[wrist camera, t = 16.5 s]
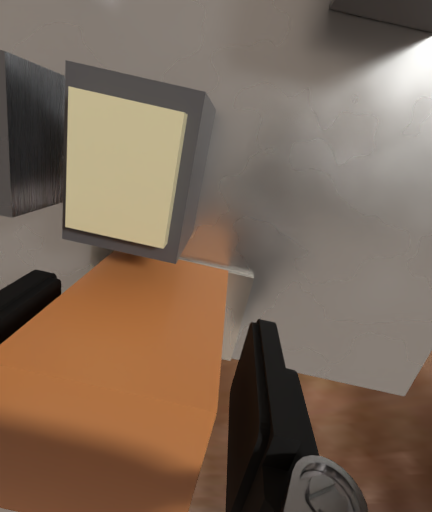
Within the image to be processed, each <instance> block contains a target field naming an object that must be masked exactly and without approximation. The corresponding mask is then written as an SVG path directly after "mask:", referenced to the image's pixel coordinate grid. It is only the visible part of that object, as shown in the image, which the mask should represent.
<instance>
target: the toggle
mask: <svg viewBox="0 0 432 512" xmlns="http://www.w3.org/2000/svg"><path fill="white" fill-rule="evenodd" d="M329 9H332V10H336V11H341V12H345V13H349V14H354V15H358V16H363V17H367V18H371V19H376V20H380V21H384V22H389V23H393V24H398V25H402V26H406V27H411V28H415V29H419V30H424V31H428V32H432V0H331V4H330V8H329Z"/></svg>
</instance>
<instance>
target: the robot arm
mask: <svg viewBox="0 0 432 512" xmlns="http://www.w3.org/2000/svg"><path fill="white" fill-rule="evenodd" d="M60 295H61V280H60V279H57V276H56V274H54V273H50V272H46V271H41V270H33V271H31V272H29V273H28V274H26V275H24V276H23V277H21V278H19V279H18V280H16V281H14V282H13V283H11V284H9V285H8V286H6V287H4V288H3V289H1V290H0V344H2V343H3V342H4V341H5V340H6V339H8V338H9V337H10V336H11V335H13V334H14V333H15V332H16V331H17V330H19V329H20V328H21V327H22V326H23V325H25V324H26V323H27V322H28V321H30V320H31V319H32V318H33V317H34V316H36V315H37V314H38V313H39V312H40V311H42V310H43V309H44V308H45V307H46V306H48V305H49V304H50V303H51V302H53V301H54V300H55V299H56V298H57V297H59V296H60ZM226 512H368V508H367V503H366V501H365V499H364V496H363V494H362V492H361V490H360V488H359V487H358V485H357V484H356V482H355V481H354V480H353V478H352V477H351V476H350V475H349V474H348V473H347V472H346V471H345V470H344V469H343V468H342V467H340V466H339V465H337V464H336V463H335V462H333V461H332V460H329V459H327V458H324V457H322V456H319V453H318V450H317V446H316V442H315V438H314V434H313V431H312V427H311V423H310V419H309V415H308V411H307V408H306V404H305V400H304V396H303V392H302V389H301V385H300V381H299V377H298V374H297V372H296V371H295V370H292V369H288V368H286V366H285V361H284V357H283V352H282V348H281V343H280V338H279V334H278V329H277V325H276V323H275V322H271V321H266V320H262V319H258V320H257V322H256V323H254V322H251V323H250V325H249V328H248V332H247V335H246V339H245V342H244V345H243V349H242V352H241V355H240V359H239V362H238V365H237V369H236V372H235V376H234V379H233V382H232V386H231V391H230V402H229V431H228V460H227V489H226Z"/></svg>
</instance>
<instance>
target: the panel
mask: <svg viewBox="0 0 432 512" xmlns="http://www.w3.org/2000/svg"><path fill="white" fill-rule="evenodd" d="M330 4H331V0H0V290H1V289H3V288H4V287H6V286H8V285H9V284H11V283H13V282H14V281H16V280H18V279H19V278H21V277H23V276H24V275H26V274H28V273H29V272H31V271H33V270H41V271H46V272H50V273H54V274H56V276H57V279H60V280H61V294H62V293H63V292H65V291H66V290H67V289H68V288H70V287H71V286H72V285H73V284H74V283H76V282H77V281H78V280H79V279H80V278H82V277H83V276H84V275H85V274H86V273H88V272H89V271H90V270H91V269H93V268H94V267H95V266H96V265H97V264H99V263H100V262H101V261H102V260H103V259H105V258H106V257H107V256H108V255H110V254H111V253H112V252H113V251H114V250H110V249H106V248H101V247H97V246H92V245H88V244H83V243H79V242H74V241H70V240H65V239H62V217H63V164H64V111H65V60H67V61H72V62H76V63H80V64H85V65H89V66H94V67H98V68H103V69H107V70H111V71H116V72H120V73H125V74H129V75H134V76H138V77H142V78H147V79H151V80H156V81H160V82H164V83H169V84H173V85H178V86H182V87H187V88H191V89H195V90H200V91H204V92H206V93H207V95H208V97H209V98H210V100H211V102H212V104H213V105H214V107H215V109H216V112H215V117H214V123H213V128H212V133H211V139H210V144H209V149H208V155H207V160H206V165H205V170H204V176H203V181H202V186H201V192H200V197H199V202H198V208H197V213H196V218H195V224H194V229H193V233H192V235H191V237H190V239H189V241H188V242H187V244H186V246H185V248H184V250H183V252H182V254H181V255H180V257H179V260H184V261H188V262H192V263H197V264H201V265H206V266H210V267H215V268H219V269H223V270H228V282H227V294H226V307H225V319H224V332H223V344H222V357H221V359H224V360H229V361H231V358H233V359H238V360H239V359H240V355H241V352H242V349H243V345H244V342H245V339H246V335H247V332H248V328H249V325H250V323H251V322H254V323H256V322H257V320H258V319H262V320H266V321H271V322H275V323H276V325H277V329H278V334H279V338H280V343H281V348H282V352H283V357H284V361H285V366H286V368H288V369H292V370H295V371H296V372H297V373H301V374H306V375H310V376H315V377H319V378H324V379H328V380H333V381H337V382H342V383H346V384H351V385H355V386H360V387H365V388H369V389H374V390H378V391H383V392H387V393H392V394H396V395H401V396H405V395H406V393H407V391H408V390H409V388H410V386H411V385H412V383H413V381H414V380H415V378H416V376H417V374H418V373H419V371H420V369H421V368H422V366H423V364H424V363H425V361H426V359H427V357H428V356H429V354H430V352H431V351H432V32H428V31H424V30H419V29H415V28H411V27H406V26H402V25H398V24H393V23H389V22H384V21H380V20H376V19H371V18H367V17H363V16H358V15H354V14H349V13H345V12H341V11H336V10H332V9H329V8H330Z"/></svg>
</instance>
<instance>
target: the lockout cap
mask: <svg viewBox="0 0 432 512" xmlns="http://www.w3.org/2000/svg"><path fill="white" fill-rule="evenodd" d="M227 282H228V270H223V269H219V268H215V267H210V266H206V265H201V264H197V263H192V262H188V261H184V260H179V259H178V261H177V263H176V264H173V263H169V262H164V261H160V260H155V259H151V258H146V257H142V256H137V255H133V254H128V253H124V252H119V251H115V250H114V251H113V252H112V253H111V254H110V255H108V256H107V257H106V258H105V259H103V260H102V261H101V262H100V263H99V264H97V265H96V266H95V267H94V268H93V269H91V270H90V271H89V272H88V273H86V274H85V275H84V276H83V277H82V278H80V279H79V280H78V281H77V282H76V283H74V284H73V285H72V286H71V287H70V288H68V289H67V290H66V291H65V292H63V293H62V294H61V295H60V296H59V297H57V298H56V299H55V300H54V301H53V302H51V303H50V304H49V305H48V306H46V307H45V308H44V309H43V310H42V311H40V312H39V313H38V314H37V315H36V316H34V317H33V318H32V319H31V320H30V321H28V322H27V323H26V324H25V325H23V326H22V327H21V328H20V329H19V330H17V331H16V332H15V333H14V334H13V335H11V336H10V337H9V338H8V339H6V340H5V341H4V342H3V343H2V344H0V508H4V509H9V510H13V511H18V512H188V511H189V507H190V504H191V500H192V497H193V493H194V490H195V487H196V483H197V480H198V476H199V473H200V469H201V466H202V463H203V459H204V456H205V452H206V449H207V445H208V442H209V438H210V435H211V432H212V428H213V425H214V421H215V418H216V414H217V406H218V394H219V381H220V369H221V357H222V344H223V332H224V319H225V307H226V294H227Z"/></svg>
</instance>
